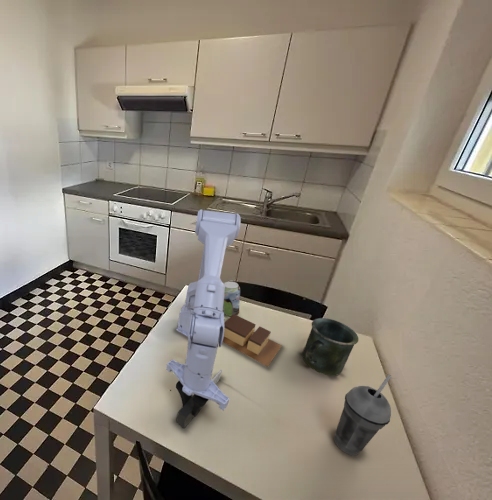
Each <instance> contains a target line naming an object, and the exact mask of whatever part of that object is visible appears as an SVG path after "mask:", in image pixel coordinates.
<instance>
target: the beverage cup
mask: <svg viewBox="0 0 492 500" xmlns="http://www.w3.org/2000/svg"><path fill="white" fill-rule="evenodd" d="M391 378H392V375H391V374H388V375H387V376H386V378H385V379H384V380H383V381H382V383H381V384H380V386H379V387H378V389H375V388H373V387H371V386H367V385H358V386H354V387H352V388H351V389H350V390H349V391H348V392H347V393H346V394H345V396H344V404H343V408H342V412H341V415H340V418H339V420H338V424H337V426H336V430H335V434H334V437H333V440H334V443H335V444H336V446H337V447H338V448H339V449H340V450H341V451H342V452H344V454H346V455H349V456H353V457H355V456H358V455H359V454H360V452H363V450H364V449H365V448H366V446H367V445H368V444H369V443H370V441H371V440H372V439H373V438H374V437H375V435H377V433H378V432H379V431H380V430H382V429H383V428H385V426H387V425H388V424H389V423H390V422H391V417H392V407H391V405H390V403H389V400H388V399H387V398H386V396H385V395H384V394H383V393H382V391H383V390H384V388H385V387H386V385H387V384H388V382H389V381H390V380H391Z"/></svg>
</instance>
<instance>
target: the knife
mask: <svg viewBox="0 0 492 500" xmlns="http://www.w3.org/2000/svg"><path fill="white" fill-rule="evenodd" d="M222 373H223V370H222V369H220V370H219V371H218V372H217V373H216V375H214V377H213V378H211V380H212V381H213V382H214V383H215V384H216V385H217V383H218V382H219V381H220V380H221V378H222V377H221V376H222ZM195 395H196V394H192V397H191V398H190V399H189V400H188V401H187V403H186V404H185V405H184V406H182V407H181V408H180V409H179V411H178V412H177V417H176V423H177V424H178V426H180V427H181V428H182V429H185V428H186V427H187V426H188V425H189V424H190V422H191V421H192V420H193V418H195V417H194V416H193V415H192V411H193V400H192V399H193V397H194V396H195Z"/></svg>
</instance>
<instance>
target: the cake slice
mask: <svg viewBox="0 0 492 500" xmlns="http://www.w3.org/2000/svg"><path fill="white" fill-rule="evenodd" d="M271 333H272V332H271V330H268V329H267V328H264V327H262V326H258V327H257V329H255V330H254V334H253V335H252V336H251V337H250V338H249V341H248V345H247V349H248V350H250V351H252V352H254V353H255V354H257V355H258V354H259V353H260V351H261V350H262V349H263V347H264V346H265V345H266V343H267V342H268V339H269V340H270V336H271Z"/></svg>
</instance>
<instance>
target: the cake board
mask: <svg viewBox="0 0 492 500" xmlns="http://www.w3.org/2000/svg"><path fill="white" fill-rule="evenodd" d="M253 334H254V333H253ZM218 341H219V339H218ZM248 341H249V340H248ZM248 341H247V342H246V343H245V344H244V346H241V345H239V344H237V343H235V342H233V341H231V340H230V339H228V338H226V337H223V341H222V343H224V344H226V345H227V346H229V347H231V348H233V349H235V350H236V351H238V352H240V353H243V354H244V356H245V355H246V356H247V357H249V358H251V359H253V360H254V361H256V362H258V363H260V364H262V365H264V366H265V367H267V368H268V367H269V366H270V365H271V363H272V361H273V360H274V359H275V357H276V356H277V354H278V353H279V351H280V349H281V348H282V347H283V346H282V344H279V343H277V342H276V341H274V340H271V339H270V338H269V339H268V342H267V343H266V345H265V346H264V347H263V349H262V350H261V351H260V353H259V354H258V355H257V354H255V353H254V352H252V351H250V350H248V349H247V345H248Z"/></svg>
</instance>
